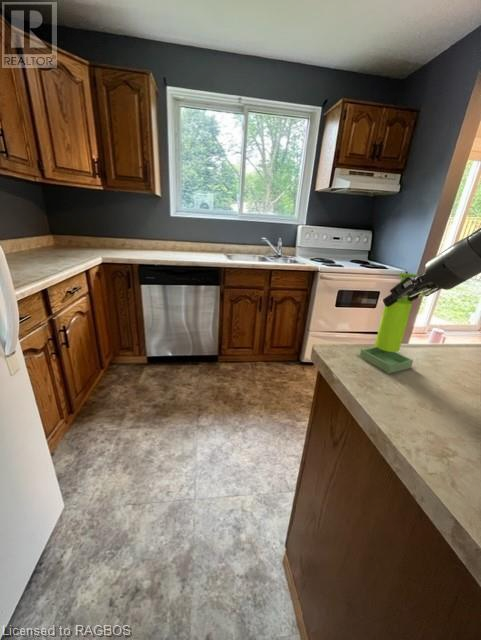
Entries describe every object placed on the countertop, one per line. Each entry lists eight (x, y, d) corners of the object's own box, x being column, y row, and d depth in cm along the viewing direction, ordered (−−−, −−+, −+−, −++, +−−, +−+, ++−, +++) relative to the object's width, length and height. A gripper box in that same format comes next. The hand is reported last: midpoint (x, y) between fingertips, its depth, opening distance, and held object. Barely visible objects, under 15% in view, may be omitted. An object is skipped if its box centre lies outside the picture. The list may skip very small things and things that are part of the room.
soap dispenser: (401, 355, 69) (424, 277, 62) (372, 347, 73) (390, 272, 66) (405, 348, 73) (426, 274, 66) (377, 340, 77) (394, 270, 70)
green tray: (359, 357, 77) (361, 349, 76) (380, 353, 80) (382, 345, 79) (388, 374, 69) (390, 365, 68) (410, 368, 72) (413, 360, 71)
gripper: (469, 248, 60) (405, 288, 74) (427, 248, 54) (367, 291, 69) (488, 277, 57) (419, 313, 72) (447, 280, 52) (380, 318, 66)
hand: (394, 302), depth 70 cm, fingers closed on soap dispenser, 6 cm apart
